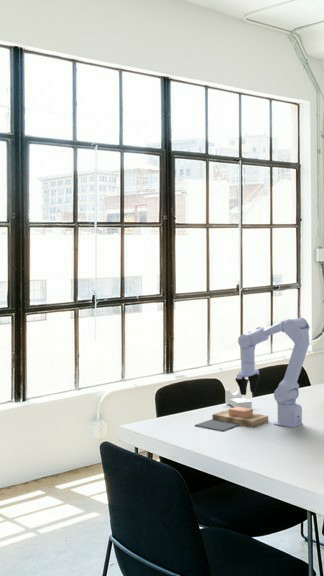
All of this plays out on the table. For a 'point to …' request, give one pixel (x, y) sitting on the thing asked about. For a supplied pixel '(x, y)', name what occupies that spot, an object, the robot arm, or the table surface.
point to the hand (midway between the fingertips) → (248, 393)
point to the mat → (217, 425)
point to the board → (241, 419)
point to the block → (240, 412)
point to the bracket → (237, 399)
